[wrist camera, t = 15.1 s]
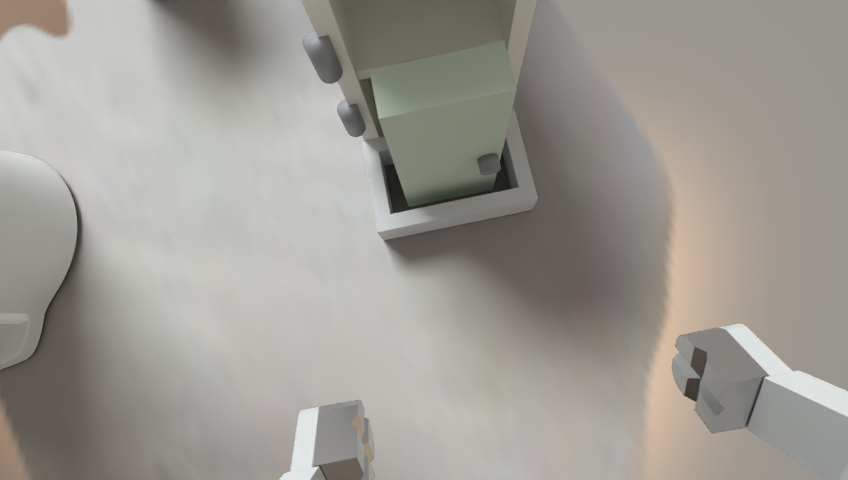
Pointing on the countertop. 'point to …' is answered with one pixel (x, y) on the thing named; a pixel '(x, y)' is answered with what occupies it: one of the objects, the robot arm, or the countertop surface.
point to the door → (446, 120)
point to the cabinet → (406, 41)
